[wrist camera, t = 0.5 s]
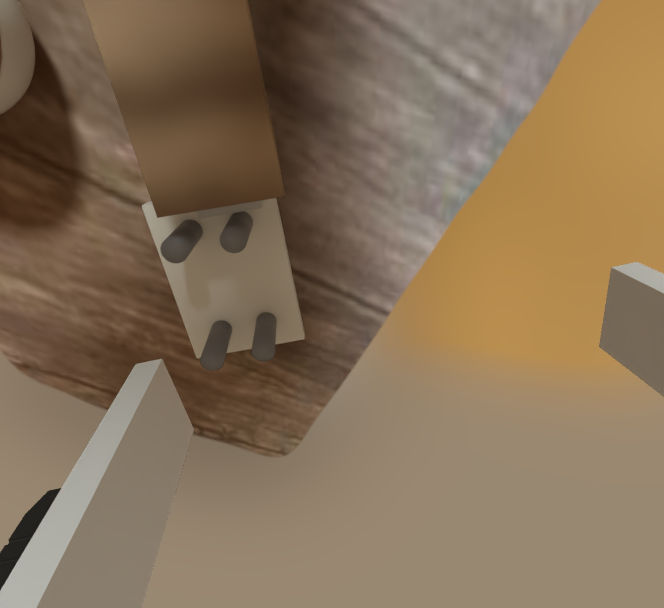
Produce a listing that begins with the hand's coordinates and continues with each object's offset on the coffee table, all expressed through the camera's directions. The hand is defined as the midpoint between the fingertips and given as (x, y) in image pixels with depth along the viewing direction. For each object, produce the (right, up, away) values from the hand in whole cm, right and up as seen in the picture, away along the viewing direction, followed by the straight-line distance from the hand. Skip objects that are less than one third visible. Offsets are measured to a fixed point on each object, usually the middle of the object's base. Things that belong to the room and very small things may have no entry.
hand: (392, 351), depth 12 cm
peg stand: (-10, +4, +23) cm, 25 cm away
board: (-10, +15, +12) cm, 22 cm away
